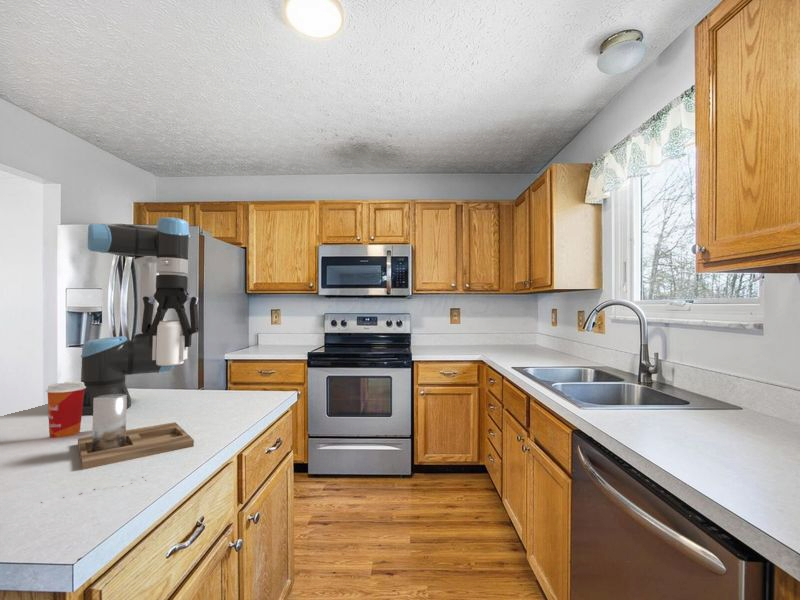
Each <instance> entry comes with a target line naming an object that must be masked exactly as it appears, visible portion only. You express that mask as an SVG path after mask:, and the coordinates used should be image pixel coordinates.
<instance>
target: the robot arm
mask: <svg viewBox="0 0 800 600" xmlns="http://www.w3.org/2000/svg"><path fill="white" fill-rule="evenodd" d="M189 226H190V225H189V222H188V221H186V220H185V219H183V218H178V217H169V216H167V217H160V218H159V219H157V225H156V227H149V226H141V225H132V224H127V223H126V224H125V223H115V224H103V223H101V224H99V223H91V224H89V225H88V227H87V249H88V250H89V252H90V251H91V252H95V253H101V254H102V253H103V254H110V255H113V256H119V257H127V258H134V264H135V265H137V266H138V267H139V324H138V326H139V330H138V331H137V332H135V334H134V335H133V339H132V340H129V339H128V338H127V336H124V335H121V336H119V335H118V336H110V337H102V338H97V339H92V340H87V341H86V342H84V343H83V345H82V348H81V349H82V350H81V355H80V358H81V367H80V368H81V372H80V374H81V375H80V382H84V385H85V386H86V388H85V389H84V398H83V408H82V416H88V415H90V416H93V400H94V398H95V397H98V396H103V395H110V394H126V395H127V409H129V408H130V407H131V406H132V397H131V395H130V392H129V390H128V387H127V384H126V378H127V377H126V376H129V375H144V374H153V373H157V374H160V373H165V372H170V371H171V370H173V368H175V366H158V365H157V364H156V348H157V326H158V324H159V322H160V321H164V320H169V315H168V313H169V309H173V310H175V312H176V313H177V317H178V320H180V323H181V326H182V329H183V332H184V334H183V336H181V350H180V360H188V349H189V348H190V347H191V346H192V336H193V334H197V333H199V332H200V323H199V322H200V321H199V311H198V310H199V308H198V305H199V303H200V298H199V297H198V296H192V295H190V294H189V293H188V285H189V284H188V281H189V280H188V279H189V278H188V276H187V275H188V274H189V241H190V237H189V235H190V231H189V230H190V229H189ZM186 302H188V304H189V306H188V307H189V318H190V319H188V316H187V313H186V307H185V303H186ZM128 407H129V408H128Z"/></svg>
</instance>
